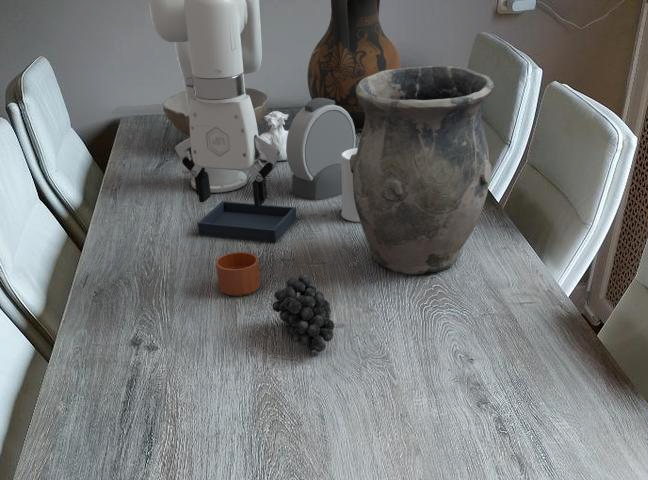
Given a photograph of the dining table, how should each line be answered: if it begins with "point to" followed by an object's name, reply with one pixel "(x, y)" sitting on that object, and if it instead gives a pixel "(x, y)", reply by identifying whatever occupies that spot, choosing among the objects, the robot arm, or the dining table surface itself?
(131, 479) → the dining table surface
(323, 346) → the fruit
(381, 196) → the clay pot
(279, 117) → the bust
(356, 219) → the mug
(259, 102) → the bowl
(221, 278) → the small bowl
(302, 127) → the alarm clock
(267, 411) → the dining table surface
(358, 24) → the vase
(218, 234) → the tray
